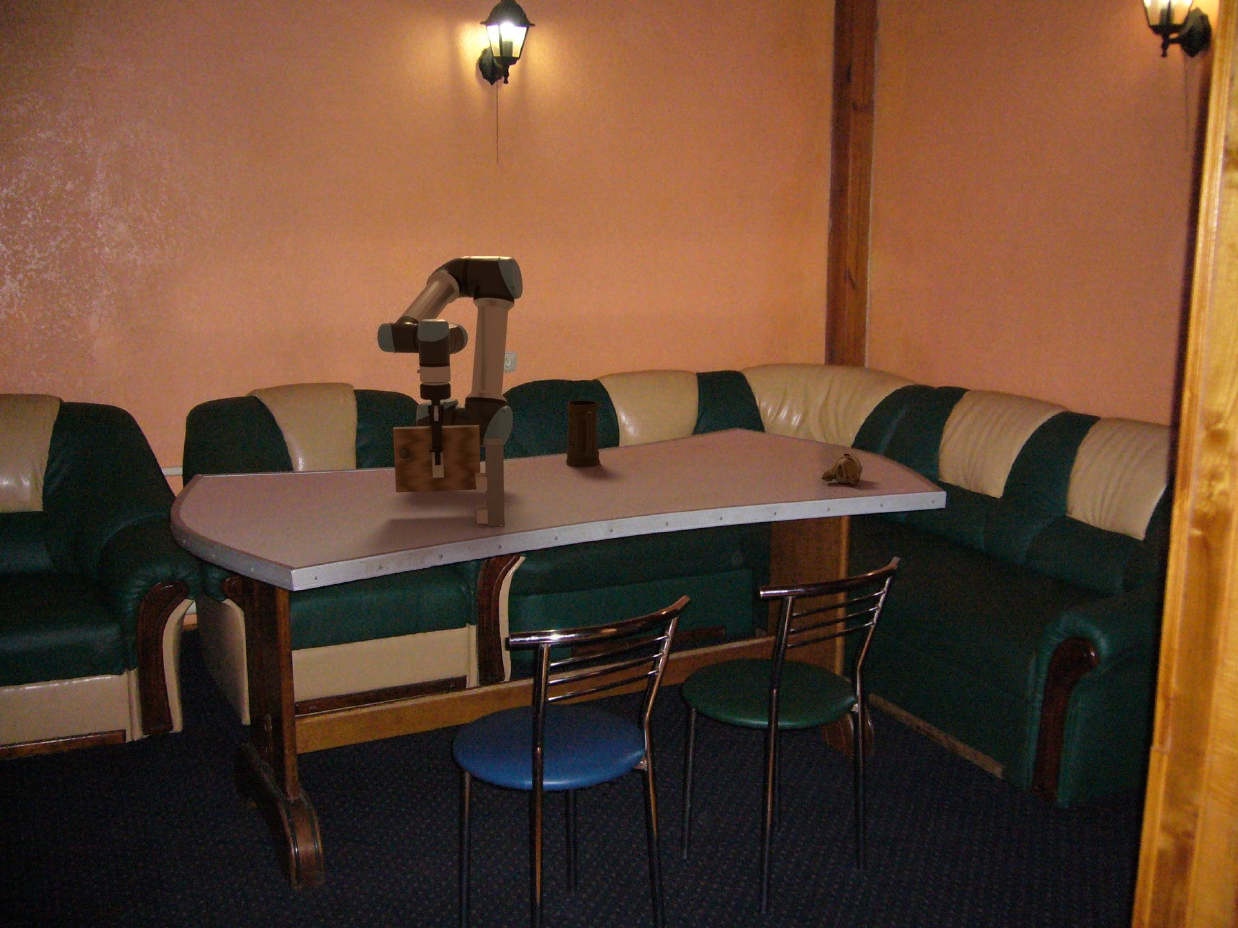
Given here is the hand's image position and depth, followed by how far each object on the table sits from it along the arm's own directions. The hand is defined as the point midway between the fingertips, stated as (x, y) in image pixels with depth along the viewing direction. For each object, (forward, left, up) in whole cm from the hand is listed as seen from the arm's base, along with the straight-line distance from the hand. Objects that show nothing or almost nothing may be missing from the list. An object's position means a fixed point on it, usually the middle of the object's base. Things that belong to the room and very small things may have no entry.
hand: (438, 475), depth 269 cm
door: (0, 0, -4) cm, 4 cm away
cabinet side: (+2, +18, -9) cm, 20 cm away
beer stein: (-70, 0, -10) cm, 70 cm away
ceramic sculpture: (-89, +76, -10) cm, 117 cm away
